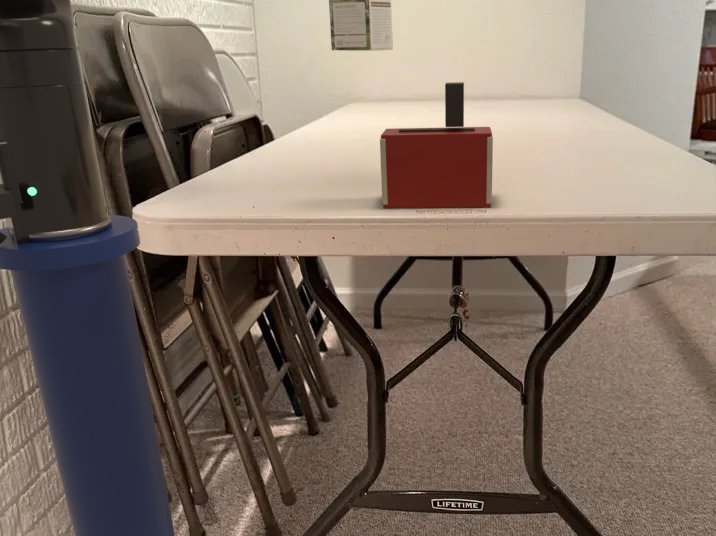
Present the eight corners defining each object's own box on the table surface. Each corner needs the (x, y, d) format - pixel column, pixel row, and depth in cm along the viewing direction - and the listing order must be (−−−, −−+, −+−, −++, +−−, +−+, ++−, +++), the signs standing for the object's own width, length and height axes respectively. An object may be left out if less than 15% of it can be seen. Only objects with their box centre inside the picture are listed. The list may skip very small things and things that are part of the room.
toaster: (382, 208, 81) (379, 133, 78) (387, 197, 86) (385, 126, 83) (491, 207, 80) (493, 131, 77) (489, 195, 85) (490, 124, 82)
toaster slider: (445, 127, 79) (445, 84, 77) (445, 124, 81) (445, 82, 79) (463, 126, 78) (463, 83, 77) (463, 124, 81) (463, 82, 79)
